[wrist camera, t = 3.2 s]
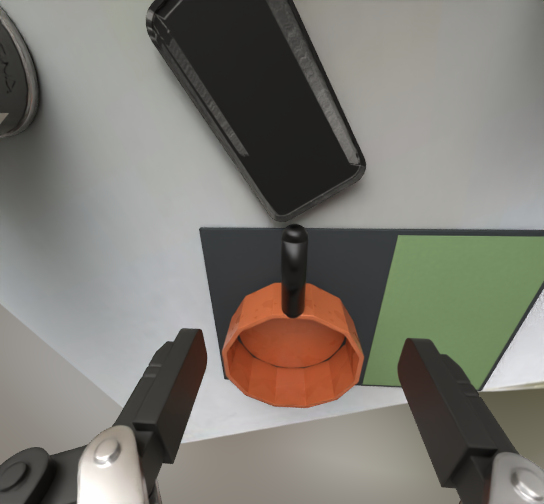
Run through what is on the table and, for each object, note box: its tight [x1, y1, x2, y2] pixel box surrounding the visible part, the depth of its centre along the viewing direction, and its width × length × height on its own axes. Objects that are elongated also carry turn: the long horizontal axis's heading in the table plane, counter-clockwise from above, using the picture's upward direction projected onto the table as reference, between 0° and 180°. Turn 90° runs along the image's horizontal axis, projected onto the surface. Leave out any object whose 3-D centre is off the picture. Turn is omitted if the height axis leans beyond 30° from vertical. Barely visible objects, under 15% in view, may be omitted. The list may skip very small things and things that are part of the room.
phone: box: [146, 0, 366, 222], centre depth 17 cm, size 8×1×15 cm
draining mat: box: [199, 228, 544, 391], centre depth 26 cm, size 30×20×1 cm, turn 91°
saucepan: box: [222, 224, 364, 408], centre depth 22 cm, size 12×19×4 cm, turn 1°
